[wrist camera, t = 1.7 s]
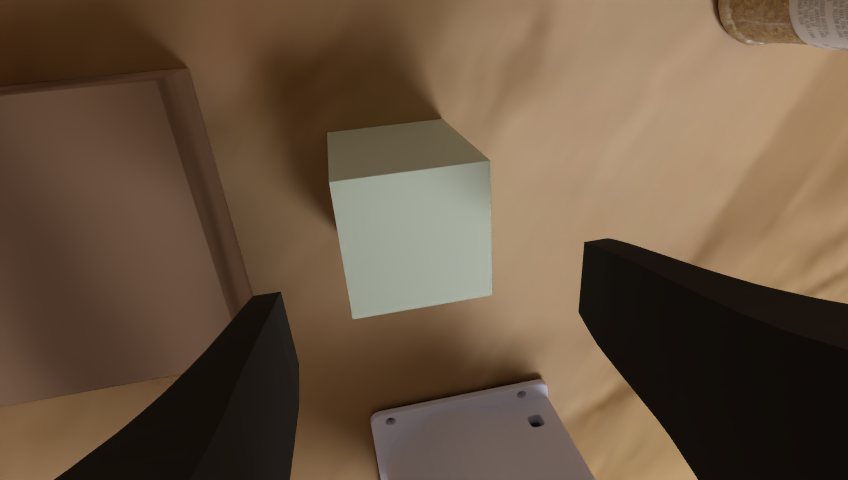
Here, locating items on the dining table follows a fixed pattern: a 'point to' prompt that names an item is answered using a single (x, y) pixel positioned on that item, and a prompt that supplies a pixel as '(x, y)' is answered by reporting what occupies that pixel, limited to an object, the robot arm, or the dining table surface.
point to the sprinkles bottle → (787, 22)
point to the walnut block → (109, 235)
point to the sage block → (410, 216)
